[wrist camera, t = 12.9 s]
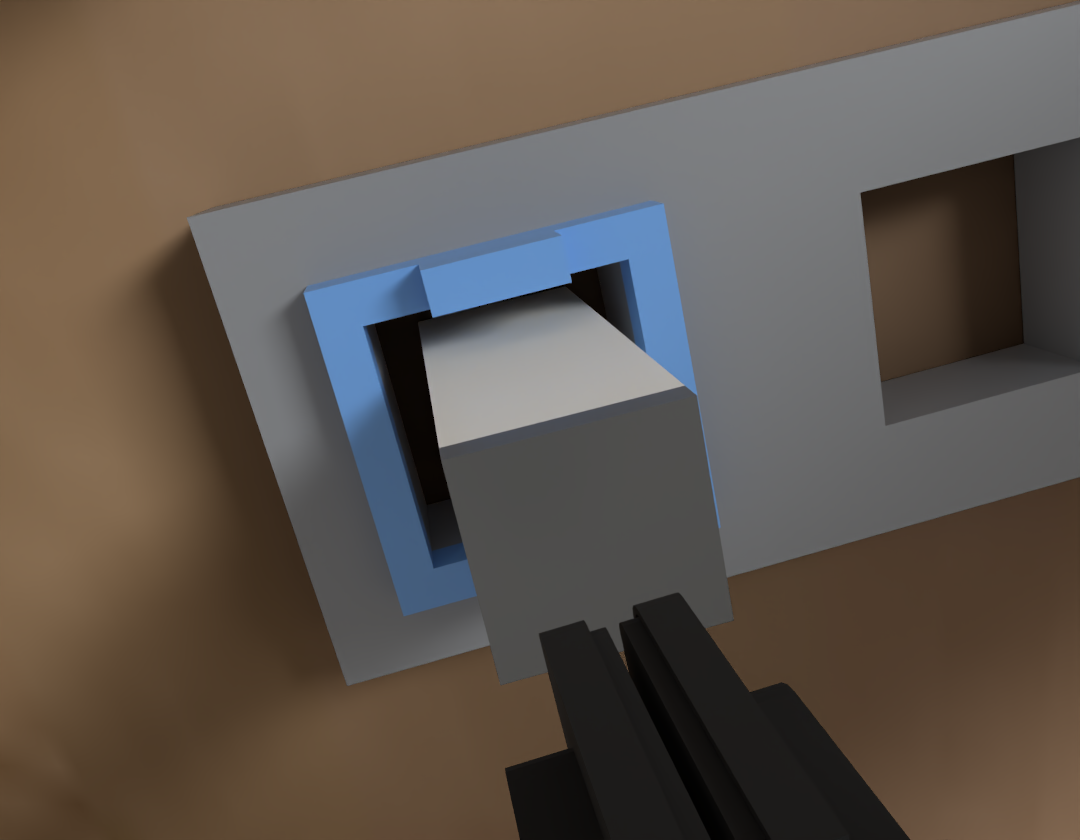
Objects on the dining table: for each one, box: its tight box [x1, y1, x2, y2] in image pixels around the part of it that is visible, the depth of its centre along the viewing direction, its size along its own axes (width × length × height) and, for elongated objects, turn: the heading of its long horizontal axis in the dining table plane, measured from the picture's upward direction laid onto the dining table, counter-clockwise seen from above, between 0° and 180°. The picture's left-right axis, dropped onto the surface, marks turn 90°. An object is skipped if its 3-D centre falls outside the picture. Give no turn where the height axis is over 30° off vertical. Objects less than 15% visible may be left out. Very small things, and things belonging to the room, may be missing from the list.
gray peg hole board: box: [187, 0, 1080, 686], centre depth 23 cm, size 24×12×5 cm, turn 103°
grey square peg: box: [418, 287, 734, 685], centre depth 20 cm, size 4×4×11 cm
